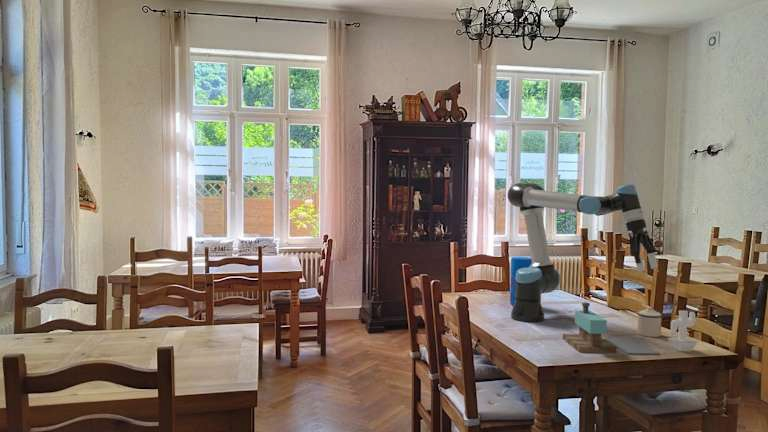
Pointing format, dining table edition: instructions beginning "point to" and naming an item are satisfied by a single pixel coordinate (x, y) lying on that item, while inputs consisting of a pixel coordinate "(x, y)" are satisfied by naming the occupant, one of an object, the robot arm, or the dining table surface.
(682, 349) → the figurine
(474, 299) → the dining table surface
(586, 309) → the wooden stand with peg
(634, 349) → the rubber mat
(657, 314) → the teacup with lid
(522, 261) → the tall blue block
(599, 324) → the mint green knobbed block
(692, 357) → the dining table surface
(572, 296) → the dining table surface
